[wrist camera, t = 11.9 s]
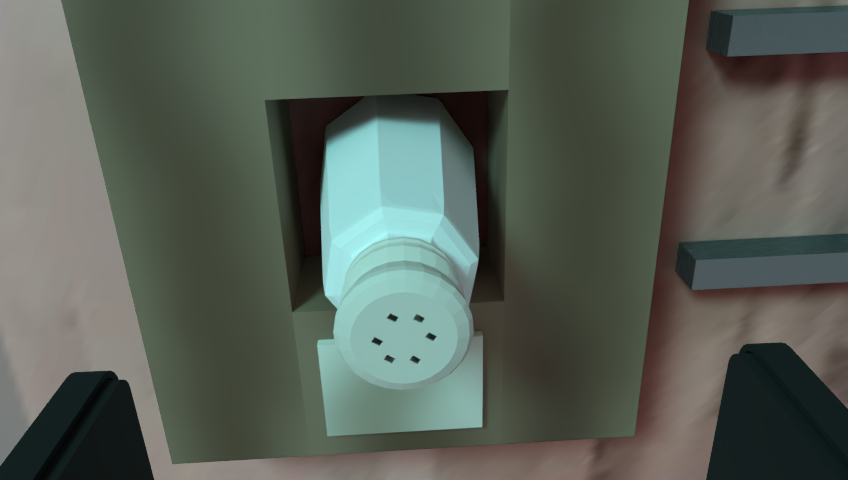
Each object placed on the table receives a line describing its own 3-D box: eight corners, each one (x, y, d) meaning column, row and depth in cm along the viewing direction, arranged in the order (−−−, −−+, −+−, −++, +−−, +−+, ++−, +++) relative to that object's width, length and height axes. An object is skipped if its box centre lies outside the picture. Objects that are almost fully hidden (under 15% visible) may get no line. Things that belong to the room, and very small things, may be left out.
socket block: (649, -141, 20) (714, -158, 16) (601, 369, 27) (637, 441, 23) (95, -124, 19) (22, -138, 15) (201, 391, 27) (170, 470, 23)
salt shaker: (421, 261, 25) (446, 482, 15) (288, 190, 23) (217, 381, 13) (504, 138, 23) (596, 295, 13) (366, 53, 22) (351, 157, 12)
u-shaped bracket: (959, 1, 22) (997, 5, 21) (886, 260, 26) (913, 278, 24) (711, 10, 22) (733, 15, 20) (675, 271, 26) (691, 290, 24)
